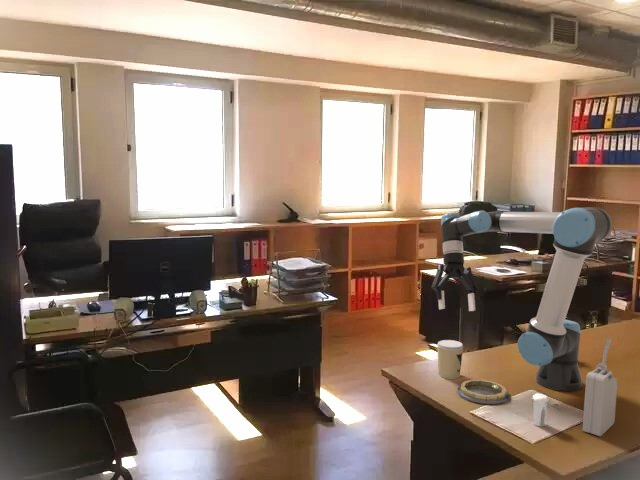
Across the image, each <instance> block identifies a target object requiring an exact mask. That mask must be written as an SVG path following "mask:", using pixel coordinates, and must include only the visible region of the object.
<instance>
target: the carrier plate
mask: <svg viewBox="0 0 640 480" xmlns="http://www.w3.org/2000/svg"><path fill="white" fill-rule="evenodd" d="M456 393H457V395H458V396H459V397H460V398H462V399H463V400H465V401H468V402H471V403H474V404H478V405H487V406H494V405H502V404H505V403H508V402H509V401H510V398H511V394H510V393H509V391H508V390H507V388H506V387H505V386H504V385H502V384H500V383H498V382H495V381H492V380H486V379H468V380H465V381H463V382H462V383H461V384H460V385H459V386H457V389H456Z"/></svg>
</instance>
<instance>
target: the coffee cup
mask: <svg viewBox="0 0 640 480" xmlns="http://www.w3.org/2000/svg"><path fill="white" fill-rule="evenodd" d="M436 346H437V370H438V375H439V376H440V377H441V378H443V379H450V380H453V379H458V378H460V376H461V370H462V369H461V368H462V359H463V352H464V351H463V349H464V345H463V343H462V342H460V341H457V340H454V339H453V340H452V339H443V340H439V341H438V342H437V344H436Z"/></svg>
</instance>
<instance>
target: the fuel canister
mask: <svg viewBox="0 0 640 480" xmlns="http://www.w3.org/2000/svg"><path fill="white" fill-rule="evenodd" d="M611 341H612V338H607V339H606V342H605V345H604V349H603V355H602V359H601V362H598V364H597V365H595V369H593V370H592V371H589V372H588V373H587V374H586V376H585V377H586V378H585V390H584V404H583V418H582V419H583V420H582V432H585V433H589V434H592V435H594V436H597V437H602V436H603V435H604V434H605V432H607V431H608V430H609V429H610V428H611V427H612V426H613V425H614V424H615V419H616V406H617V393H618V379H617V377H614V375H613V371H610V370H609V369H608V366H607V365H608V364H607V358H608V352H609V350H610V345H611Z"/></svg>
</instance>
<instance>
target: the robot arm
mask: <svg viewBox="0 0 640 480" xmlns="http://www.w3.org/2000/svg"><path fill="white" fill-rule="evenodd" d="M440 219H441V220H440V229H441V237H442V240H441V241H442V253H443V256H442V257H443V259H442V260H443V264H439V265H437V269H436V274H435V276H434V279H433V281H432V284H431V287H430V288H431V290H433V291H434V292H435V295H436V300H437V303H438V310H444V309H446V305H445V304H446V303H445V302H446V301H445V290H443V289H444V287H445V285H446V284H447V283H448V281H449V280H450V279H456V280H458V281H460V282H461V284H462V285H463V286H464V287H465V290H467V292H468V294H467V302H468V312H474V311H476V302H477V300H476V299H477V297H476V293H478V292H480V291H481V290H480V287H479V286H478V283H477V281H476V279H475V277H474V275H473V271H472V268H471V267H470V266H469V267H464V264H465V257H464V256H465V255H464V245H463V237H466V236H470V235H474V234H481V233H489V232H496V233H497V232H500V233H501V232H503V233H504V232H505V233H508V232H509V233H526V234H527V233H528V234H529V233H530V234H548V235H549V234H552V235H553V236H554V237H553V238H554V239H553V243H552V245H553V247H554V248H555V251H556V252H555V256H554V258H553V261H552V265H551V267H550V271H549V274H548V277H547V280H546V283H545V286H544V287H545V288H544V290H543V293H542V297H541V300H540V304H539V307H538V310H537V314H536V316H534V317H532V318H531V319H530V320H529V323H528V326H527V329H526V331H525V332H523V333H522V334H521V335H520V336H519V338H518V340H517V349H518V353H520V355H521V357H522V358H523V360H524V361H525V362H526V363H528V364H530V365H532V366H535V367H538V369H537V370H536V375H535V382H537V383H538V384H539V385H540V386H542V387H545V388H548V389H552V390H556V391H563V392H573V391H578V390H580V389H582V387H583V377H582V374H581V371H580V368H579V367H580V366H579V354H580V343H581V342H580V340H581V339H580V338H581V326H580V324H579V323H578V322H576V321H573V320H569V319H566V318H567V316H568V315H567V314H568V311H569V309H570V305H571V302H572V299H573V296H574V293H575V290H576V288H577V287H576V286H577V283H578V281H579V277H580V275H581V271H582V268H583V265H584V262H585V259H586V258H588V257H591V256H592V254H593V252H594V249H595V246H596V243H598V242H601V241H603V240H604V239H606V238H607V237H608V236H609V235H610V233H611V230H612V229H613V228H612V227H613V221H612V218H611V216H610V214H609V213H607V211H605V210H604V209H602V208H599V207H595V206H588V207H572V208H569V209H566V210H563V211H561V212H559V211H555V212H554V211H552V212H551V211H550V212H549V211H499V210H493V211H488V212H487V211H485V210H478V211H476V210H475V211H473V212H471V213H468V214H465V215H462V216H461V214H460V213H459V212H458V213H457V212H450V213H444V214H442V216H441V218H440ZM444 272H445V274H444ZM442 277H443V278H442Z"/></svg>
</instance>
